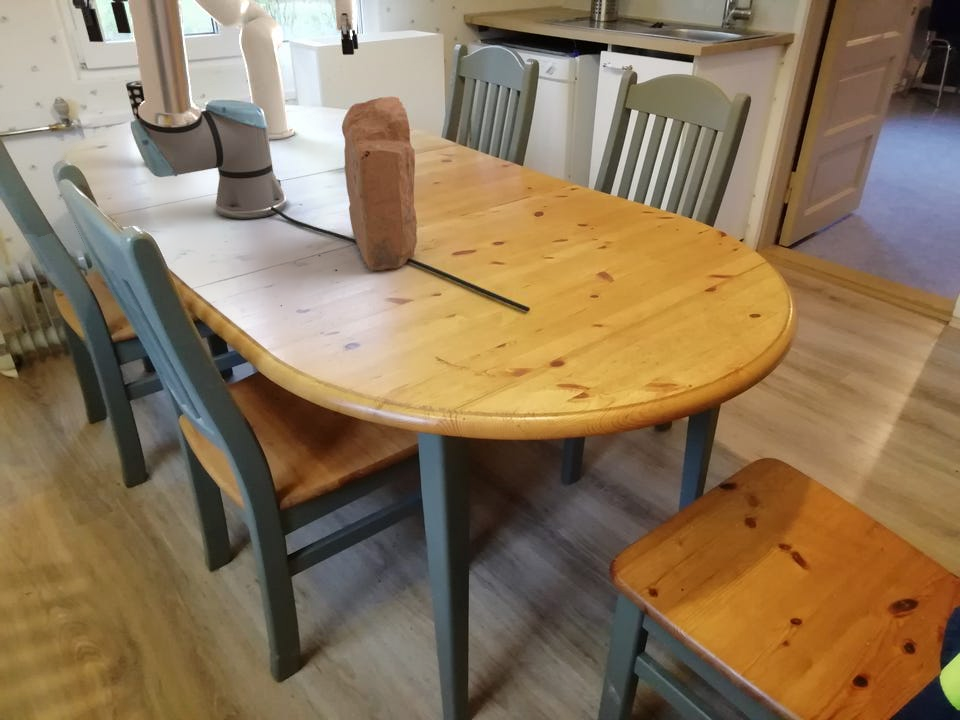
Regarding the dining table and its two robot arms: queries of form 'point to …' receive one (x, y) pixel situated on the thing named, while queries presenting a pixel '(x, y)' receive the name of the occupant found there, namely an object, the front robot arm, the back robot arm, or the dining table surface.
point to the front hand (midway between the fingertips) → (111, 37)
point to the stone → (381, 181)
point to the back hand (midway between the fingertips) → (350, 51)
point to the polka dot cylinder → (135, 96)
